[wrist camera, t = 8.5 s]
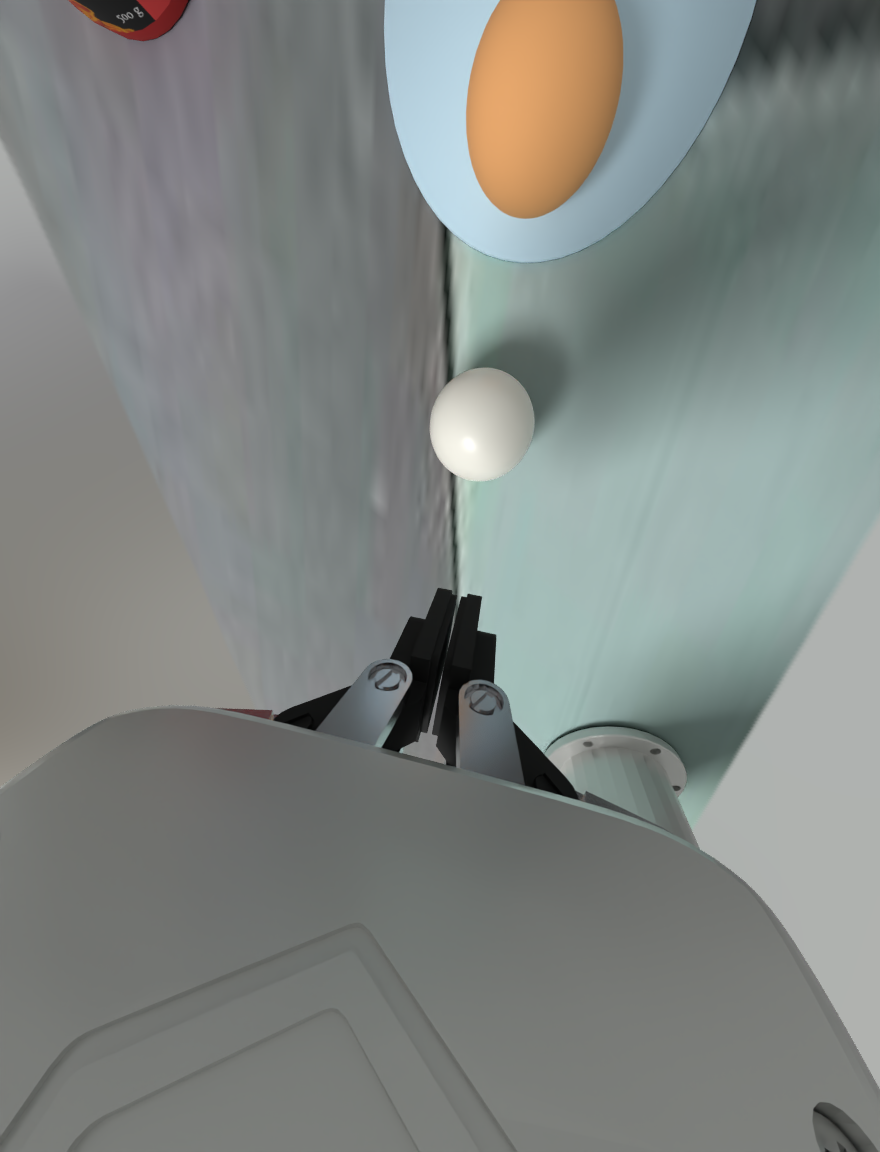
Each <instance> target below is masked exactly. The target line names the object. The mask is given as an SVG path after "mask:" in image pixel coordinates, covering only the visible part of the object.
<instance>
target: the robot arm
mask: <svg viewBox="0 0 880 1152" xmlns="http://www.w3.org/2000/svg"><path fill="white" fill-rule="evenodd" d="M456 599H457V595H453V594H452V590H447V589H442V588H438V589H437V592H436V594H435V597H434V599H433V602H432V604H431V607H430V609H429V612H428V614H427V617H426V619H421V618H416V617H410V618H409V620H408V622H407V624H406V626H405V628H404V630H403V632H402V635H401V637H400V639H399V641H398V643H397V645H396V647H395V649H394V651H393V653H392V655H391V657H390V659H382V660H378V661H375V662H373V663H371V664H370V665H369V666H368V667H367V668H366V669H365V670H364V671H363V672H362V674H361V675H360V676H359V677H358V679H357V680H356V681H355V682H354V684H353V685H352V686H349V687H346V688H344V689H341V690H338V691H335V692H333V693H330V694H327V695H324V696H322V697H319V698H316V699H313V700H311V701H308V702H305V703H302V704H300V705H297V706H294V707H291V708H289V709H287V710H285V711H283V712H281V713H280V714H279V715H274V714H273V710H249V709H220V708H209V707H200V706H178V705H177V706H175V705H169V706H157V707H146V708H140V709H135V710H130V711H126V712H122V713H119V714H116V715H113V716H110V717H107V718H105V719H103V720H101V721H99V722H97V723H95V724H93V725H92V726H90V727H88V728H86V729H84V730H83V731H81V732H80V733H78V734H76V735H74V736H73V737H71V738H70V739H68V740H67V741H65V742H64V743H62V744H61V745H59V746H58V747H56V748H55V749H53V750H52V751H50V752H49V753H47V754H46V755H44V756H43V757H42V758H40V759H39V760H37V761H36V762H35V763H33V764H31V765H30V766H29V767H27V768H26V769H24V770H23V771H22V772H20V773H19V774H17V775H16V776H15V777H13V778H12V779H10V780H9V781H8V782H6V783H5V784H4V785H2V786H1V787H0V1152H880V1089H879V1087H878V1085H877V1083H876V1082H875V1080H874V1078H873V1076H872V1074H871V1072H870V1071H869V1069H868V1067H867V1065H866V1063H865V1062H864V1060H863V1058H862V1056H861V1054H860V1053H859V1051H858V1049H857V1047H856V1045H855V1044H854V1042H853V1040H852V1038H851V1036H850V1035H849V1033H848V1031H847V1029H846V1027H845V1026H844V1024H843V1022H842V1020H841V1019H840V1017H839V1015H838V1013H837V1012H836V1010H835V1008H834V1007H833V1005H832V1003H831V1001H830V1000H829V998H828V996H827V995H826V993H825V991H824V989H823V988H822V986H821V984H820V983H819V981H818V979H817V978H816V976H815V975H814V973H813V971H812V970H811V968H810V967H809V965H808V963H807V962H806V961H805V958H804V957H803V955H802V954H801V952H800V950H799V949H798V947H797V946H796V944H795V942H794V941H793V940H792V938H791V936H790V935H789V934H788V932H787V931H786V929H785V928H784V927H783V925H782V923H781V922H780V921H779V919H778V918H777V917H776V915H775V914H774V913H773V911H772V910H771V909H770V908H769V907H768V905H767V904H766V903H765V902H764V901H763V900H762V898H761V897H760V896H759V895H758V894H757V893H756V892H755V891H754V890H753V889H752V888H751V887H750V886H749V885H748V884H747V883H746V882H745V881H744V880H742V879H741V878H740V877H738V876H737V875H736V874H735V873H734V872H732V871H731V870H730V869H728V868H727V867H726V866H724V865H723V864H721V863H720V862H719V861H717V860H716V859H715V858H713V857H711V856H710V855H708V854H707V853H705V852H703V851H702V850H700V848H699V846H698V844H697V842H696V839H695V837H694V834H693V832H692V830H691V828H690V825H689V823H688V821H687V818H686V816H685V814H684V812H683V809H682V807H681V805H680V802H679V800H678V797H679V795H680V794H681V793H682V791H683V790H684V787H685V785H686V782H687V773H686V770H685V767H684V765H683V763H682V761H681V759H680V757H679V755H678V753H677V752H676V751H675V750H674V749H673V748H672V747H671V746H670V745H669V744H667V743H666V742H665V741H663V740H662V739H660V738H658V737H656V736H654V735H651V734H649V733H646V732H643V731H639V730H636V729H631V728H625V727H610V726H605V727H593V728H588V729H583V730H579V731H576V732H573V733H570V734H568V735H566V736H564V737H562V738H560V739H558V740H557V741H556V742H555V743H553V744H552V745H551V746H550V747H549V748H548V749H547V751H546V752H545V753H544V754H543V752H542V751H541V750H540V749H539V748H538V747H537V746H536V745H535V744H534V743H533V742H532V741H531V740H530V739H529V738H528V737H527V736H526V735H525V734H524V733H523V731H522V730H521V729H520V728H519V727H518V726H517V725H516V724H515V723H514V722H513V720H512V714H511V709H510V704H509V700H508V697H507V695H506V694H505V693H504V691H503V690H502V689H501V688H500V687H498V686H497V685H495V684H494V670H495V652H496V635H495V634H490V633H486V632H481V631H477V628H478V621H479V614H480V607H481V600H482V597H481V596H476V595H471V594H468V595H467V597H462V596H461V600H460V604H459V608H458V612H457V616H456V620H455V624H454V628H453V632H452V635H451V639H450V633H451V627H452V622H453V616H454V610H455V605H456ZM449 639H450V643H449ZM448 644H449V647H448ZM447 650H448V651H447ZM443 668H444V669H443ZM442 672H443V674H442ZM441 675H442V680H441V686H440V691H439V697H438V703H437V708H436V714H435V720H434V726H433V731H432V734H433V735H437V736H438V739H437V744H436V747H437V748H438V749H439V751H440V752H441V754H442V755H443V757H444V758H445V762H444V764H441V763H437V762H434V761H430V760H426V759H422V758H418V757H414V756H411V755H407V754H403V751H404V747H405V746H407V745H409V744H411V743H413V742H414V741H415V742H418V740H419V736H420V733H421V732H425V733H427V731H428V727H429V723H430V719H431V715H432V711H433V707H434V703H435V699H436V695H437V691H438V687H439V683H440V679H441Z"/></svg>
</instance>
